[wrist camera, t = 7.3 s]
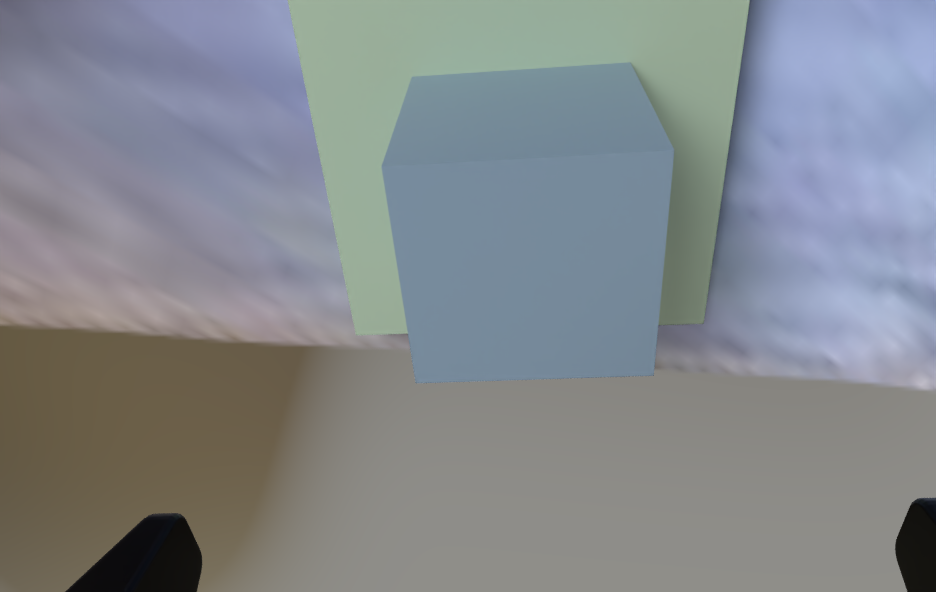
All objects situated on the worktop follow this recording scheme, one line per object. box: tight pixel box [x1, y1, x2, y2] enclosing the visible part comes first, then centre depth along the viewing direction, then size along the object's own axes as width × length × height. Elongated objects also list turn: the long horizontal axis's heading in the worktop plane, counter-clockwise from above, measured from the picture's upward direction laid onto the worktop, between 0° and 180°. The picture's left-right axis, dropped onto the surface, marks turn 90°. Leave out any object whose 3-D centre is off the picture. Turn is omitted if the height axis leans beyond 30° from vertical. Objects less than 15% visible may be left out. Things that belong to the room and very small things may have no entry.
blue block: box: [381, 62, 674, 383], centre depth 16 cm, size 5×5×5 cm
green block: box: [288, 0, 750, 335], centre depth 18 cm, size 10×10×1 cm
